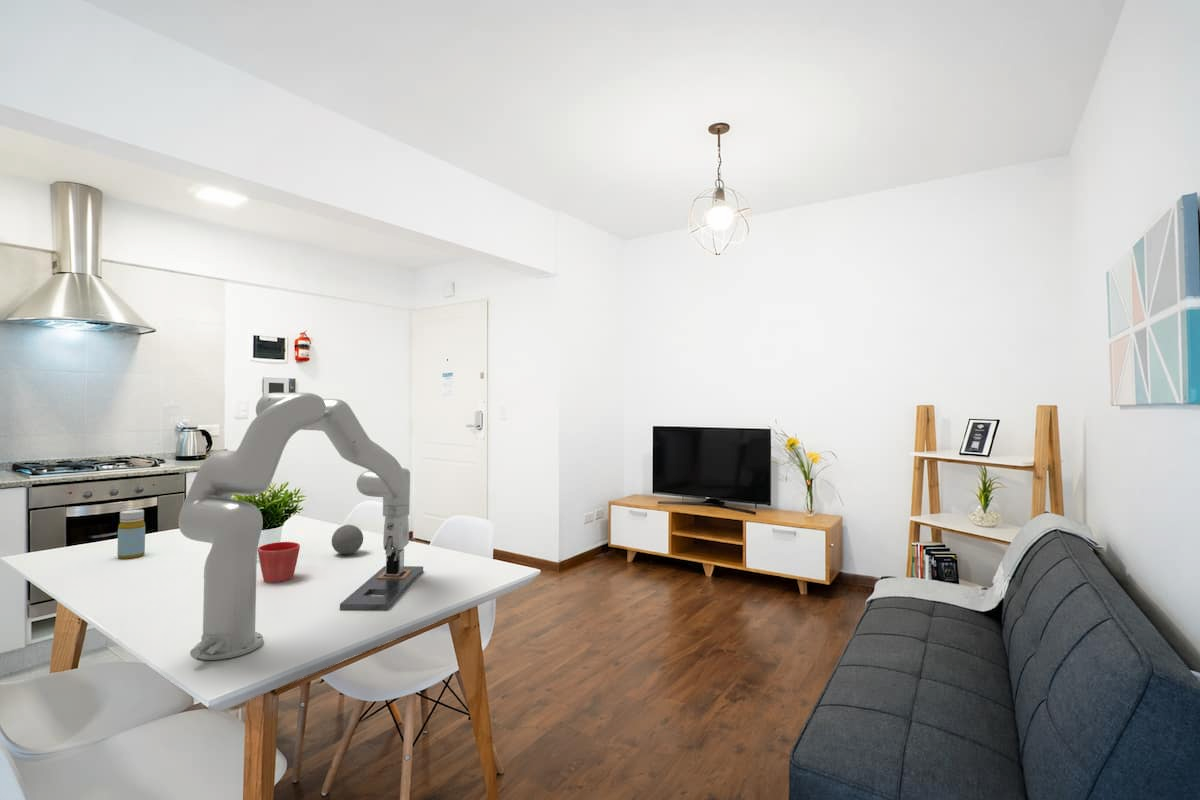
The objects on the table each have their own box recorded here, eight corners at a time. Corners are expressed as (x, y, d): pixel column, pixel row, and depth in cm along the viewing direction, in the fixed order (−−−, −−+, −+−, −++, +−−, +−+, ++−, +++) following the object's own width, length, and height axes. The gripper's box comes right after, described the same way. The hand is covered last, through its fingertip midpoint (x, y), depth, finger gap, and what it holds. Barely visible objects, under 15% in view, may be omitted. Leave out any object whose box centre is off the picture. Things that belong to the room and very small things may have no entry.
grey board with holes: (387, 610, 148) (387, 603, 148) (339, 609, 148) (339, 602, 148) (423, 571, 182) (423, 565, 182) (384, 570, 182) (384, 565, 182)
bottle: (123, 554, 194) (124, 509, 194) (148, 553, 196) (149, 508, 196) (113, 560, 188) (114, 513, 188) (138, 558, 190) (139, 512, 190)
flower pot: (287, 584, 167) (288, 551, 167) (249, 584, 167) (250, 550, 167) (306, 573, 177) (306, 542, 177) (270, 573, 177) (270, 541, 177)
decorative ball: (325, 557, 196) (326, 527, 196) (340, 550, 206) (340, 521, 206) (354, 558, 195) (355, 528, 195) (367, 550, 205) (368, 522, 205)
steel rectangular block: (399, 579, 171) (400, 552, 171) (385, 579, 171) (386, 551, 171) (403, 575, 175) (404, 548, 175) (390, 575, 175) (390, 548, 175)
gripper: (400, 515, 165) (398, 580, 165) (416, 505, 182) (415, 563, 182) (373, 515, 165) (371, 579, 165) (392, 504, 182) (391, 563, 181)
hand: (394, 570), depth 173 cm, fingers open, 4 cm apart
